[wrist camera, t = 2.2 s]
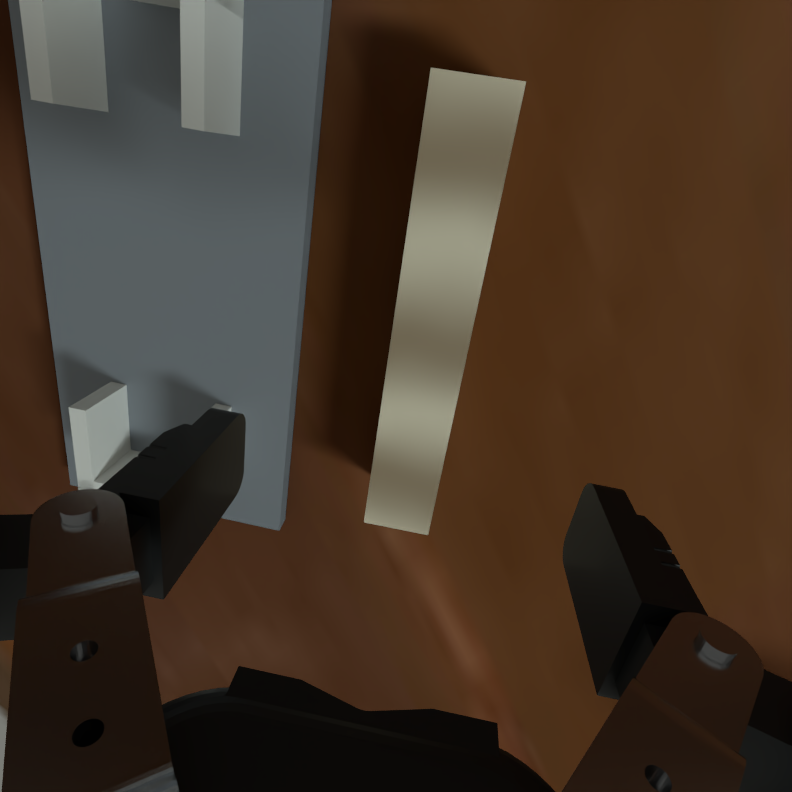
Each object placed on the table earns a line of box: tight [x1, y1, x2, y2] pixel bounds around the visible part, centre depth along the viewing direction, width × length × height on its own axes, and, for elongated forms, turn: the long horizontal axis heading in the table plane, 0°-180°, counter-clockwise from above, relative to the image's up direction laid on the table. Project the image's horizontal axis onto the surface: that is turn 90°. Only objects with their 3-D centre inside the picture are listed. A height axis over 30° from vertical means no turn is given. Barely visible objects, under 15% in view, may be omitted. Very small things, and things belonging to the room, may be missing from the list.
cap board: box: [8, 0, 332, 530], centre depth 22 cm, size 26×12×4 cm, turn 171°
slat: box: [364, 68, 526, 535], centre depth 22 cm, size 18×3×4 cm, turn 172°
